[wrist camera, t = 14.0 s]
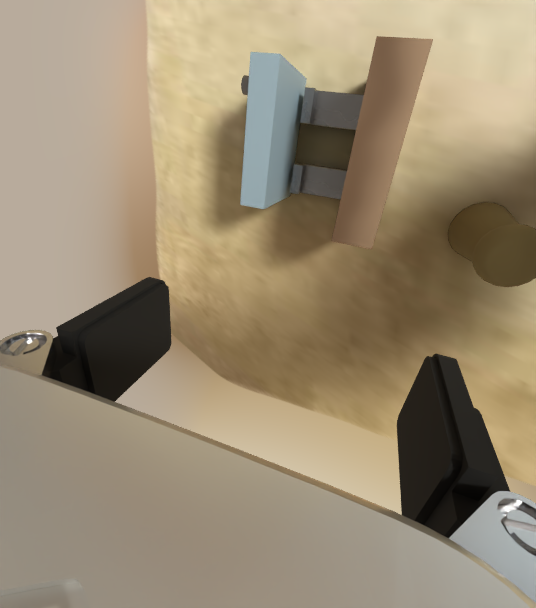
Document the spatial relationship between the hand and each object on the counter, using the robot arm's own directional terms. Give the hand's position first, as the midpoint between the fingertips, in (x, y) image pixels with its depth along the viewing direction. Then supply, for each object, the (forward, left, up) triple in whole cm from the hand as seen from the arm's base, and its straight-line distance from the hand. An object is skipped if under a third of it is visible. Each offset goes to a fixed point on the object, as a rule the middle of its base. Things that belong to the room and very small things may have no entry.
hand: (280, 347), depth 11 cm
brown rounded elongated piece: (-14, 0, -31) cm, 34 cm away
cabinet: (-1, -6, -30) cm, 31 cm away
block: (+9, -6, -30) cm, 32 cm away
